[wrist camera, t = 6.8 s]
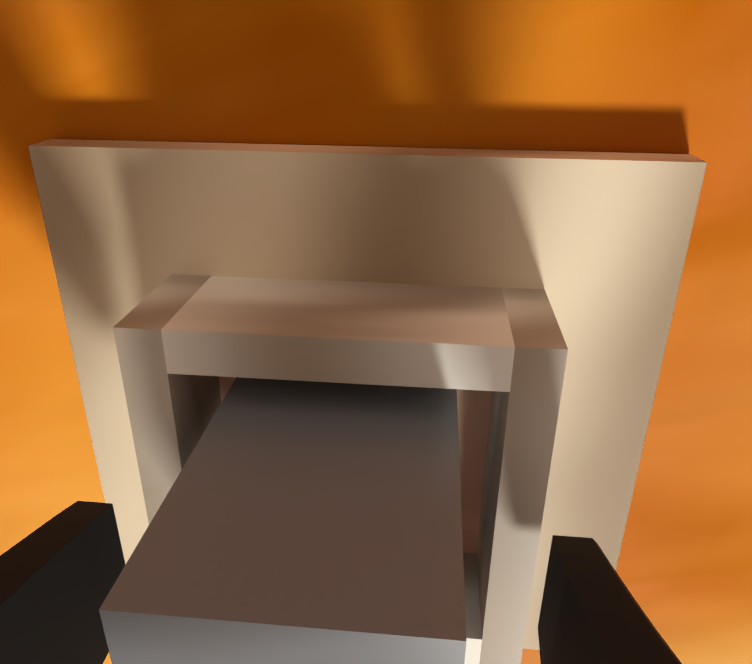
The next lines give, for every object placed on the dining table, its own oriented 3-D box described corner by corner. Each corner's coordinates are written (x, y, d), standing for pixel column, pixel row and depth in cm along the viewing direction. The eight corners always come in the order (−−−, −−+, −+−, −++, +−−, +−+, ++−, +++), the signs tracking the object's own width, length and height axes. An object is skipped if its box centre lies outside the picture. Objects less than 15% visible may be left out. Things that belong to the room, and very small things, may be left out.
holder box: (690, 154, 12) (776, 197, 9) (589, 627, 17) (621, 757, 14) (51, 139, 13) (-71, 173, 10) (142, 591, 18) (81, 704, 15)
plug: (455, 356, 13) (466, 641, 7) (444, 516, 14) (445, 854, 8) (254, 346, 13) (99, 609, 7) (267, 503, 15) (149, 820, 9)
